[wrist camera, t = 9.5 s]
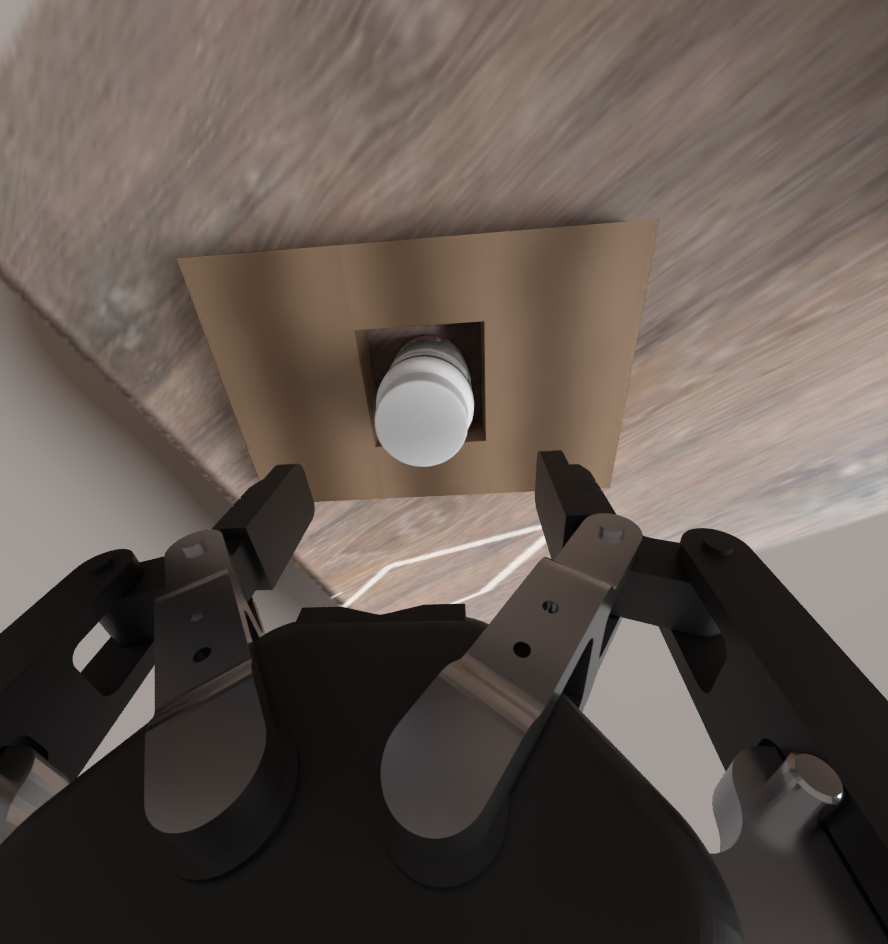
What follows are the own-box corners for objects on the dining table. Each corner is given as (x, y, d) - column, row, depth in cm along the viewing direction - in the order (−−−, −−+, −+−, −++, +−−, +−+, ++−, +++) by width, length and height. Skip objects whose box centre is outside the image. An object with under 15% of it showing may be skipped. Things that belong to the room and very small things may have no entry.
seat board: (630, 223, 19) (659, 218, 16) (593, 464, 26) (609, 487, 23) (212, 258, 20) (176, 258, 17) (285, 480, 27) (268, 503, 24)
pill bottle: (445, 422, 25) (443, 492, 17) (380, 388, 23) (348, 447, 16) (484, 358, 22) (499, 408, 15) (414, 318, 21) (394, 350, 14)
